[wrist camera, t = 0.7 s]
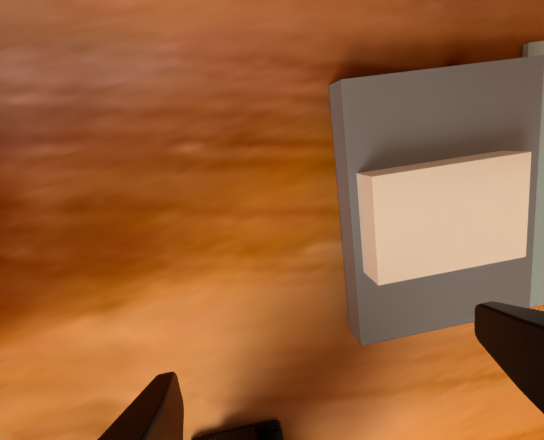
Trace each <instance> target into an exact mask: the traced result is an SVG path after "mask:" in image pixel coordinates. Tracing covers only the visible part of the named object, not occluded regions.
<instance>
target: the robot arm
mask: <svg viewBox="0 0 544 440" xmlns="http://www.w3.org/2000/svg"><path fill="white" fill-rule="evenodd" d="M475 335H476V337H477V339H478V341H479V342H480V343H481V344H482V346H483V347H484V348H485V349H486V350H487V352H488V353H489V354H490V355H491V356H492V357H493V359H494V360H495V361H496V362H497V363H498V365H499V366H500V367H501V368H502V369H503V370H504V372H505V373H506V374H507V375H508V376H509V378H510V379H511V380H512V381H513V382H514V383H515V385H516V386H517V387H518V388H519V389H520V390H521V391H522V392H523V393H524V394H525V395H526V396H527V397H528V399H529V400H530V401H531V402H532V403H533V404H534V405H535V406H536V407H537V408H538V409H539V410H540V411H541V412H542V413H543V414H544V311H539V310H534V309H529V308H525V307H520V306H515V305H510V304H505V303H500V302H495V301H488V302H483V303H479V304H477V305H476V306H475ZM183 418H184V406H183V399H182V395H181V391H180V387H179V383H178V378H177V375H176V373H175V372H168V373H164V374H159V375H157V376H156V377H155V378H154V379H153V380H152V381H151V383H150V384H149V385H148V386H147V387H146V388H145V389H144V390H143V391H142V392H141V393H140V394H139V395H138V397H137V398H136V399H135V400H134V401H133V402H132V403H131V404H130V405H129V406H128V407H127V408H126V410H125V411H124V412H123V413H122V414H121V415H120V416H119V417H118V418H117V419H116V420H115V421H114V422H113V424H112V425H111V426H110V427H109V428H108V429H107V430H106V431H105V432H104V433H103V434H102V435H101V437H100V438H99V439H98V440H183ZM273 427H276V428H274V429H272V428H273ZM192 440H283V435H282V428H281V424H280V422H279V421H278V420H270V421H266V422H261V423H257V424H253V425H249V426H244V427H240V428H236V429H232V430H227V431H223V432H219V433H214V434H210V435H206V436H202V437H197V438H194V439H192Z"/></svg>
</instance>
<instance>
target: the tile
mask: <svg viewBox="0 0 544 440" xmlns="http://www.w3.org/2000/svg"><path fill="white" fill-rule="evenodd" d="M531 153H532V152H525V151H497V152H490V153H484V154H477V155H471V156H464V157H458V158H451V159H445V160H438V161H432V162H426V163H419V164H413V165H406V166H400V167H393V168H387V169H380V170H374V171H367V172H361V173H356V175H357V188H358V202H359V216H360V230H361V244H362V258H363V272H364V273H365V274H366V275H367V276H368V277H369V278H371V279H372V280H373V281H374V282H375V283H376V284H377V285H378V286H379V285H384V284H390V283H395V282H400V281H405V280H410V279H415V278H420V277H425V276H430V275H436V274H441V273H446V272H451V271H456V270H461V269H466V268H471V267H476V266H482V265H487V264H492V263H497V262H502V261H507V260H512V259H517V258H523V257H526V246H527V227H528V209H529V190H530V171H531Z"/></svg>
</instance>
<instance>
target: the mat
mask: <svg viewBox="0 0 544 440" xmlns="http://www.w3.org/2000/svg"><path fill="white" fill-rule="evenodd" d="M538 55H544V41H537V42H529V43H525V44H523V52H522V57H530V56H538ZM542 304H544V74H543V91H542V108H541V124H540V141H539V158H538V175H537V192H536V209H535V226H534V243H533V260H532V277H531V294H530V307H533V306H538V305H542Z"/></svg>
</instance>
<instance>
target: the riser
mask: <svg viewBox="0 0 544 440" xmlns="http://www.w3.org/2000/svg"><path fill="white" fill-rule="evenodd" d="M543 74H544V55H538V56H530V57H522V58H514V59H505V60H497V61H489V62H481V63H472V64H464V65H456V66H448V67H439V68H431V69H423V70H415V71H406V72H398V73H390V74H382V75H373V76H365V77H357V78H349V79H340V80H339V81H337V82H335V83H333V84H331V85H329V95H330V107H331V118H332V130H333V142H334V153H335V165H336V176H337V188H338V200H339V211H340V223H341V234H342V246H343V258H344V269H345V281H346V292H347V304H348V316H349V327H350V330H351V332H352V333H353V335H354V336H355V338H356V339H357V341H358V342H359V343H360V345H361V346H363V345H368V344H373V343H377V342H382V341H387V340H391V339H396V338H400V337H405V336H410V335H414V334H419V333H424V332H428V331H433V330H438V329H442V328H447V327H452V326H456V325H461V324H465V323H470V322H475V306H476V305H477V304H479V303H483V302H488V301H495V302H500V303H505V304H510V305H515V306H520V307H525V308H529V309H530V294H531V277H532V260H533V243H534V226H535V209H536V192H537V175H538V158H539V141H540V124H541V108H542V91H543ZM497 151H525V152H532V153H531V171H530V190H529V209H528V227H527V246H526V257H523V258H517V259H512V260H507V261H502V262H497V263H492V264H487V265H482V266H476V267H471V268H466V269H461V270H456V271H451V272H446V273H441V274H436V275H430V276H425V277H420V278H415V279H410V280H405V281H400V282H395V283H390V284H384V285H379V286H378V285H377V284H376V283H375V282H374V281H373V280H372V279H371V278H369V277H368V276H367V275H366V274H365V273H364V272H363V258H362V244H361V230H360V216H359V202H358V188H357V175H356V173H361V172H367V171H374V170H380V169H387V168H393V167H400V166H406V165H413V164H419V163H426V162H432V161H438V160H445V159H451V158H458V157H464V156H471V155H477V154H484V153H490V152H497Z"/></svg>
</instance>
